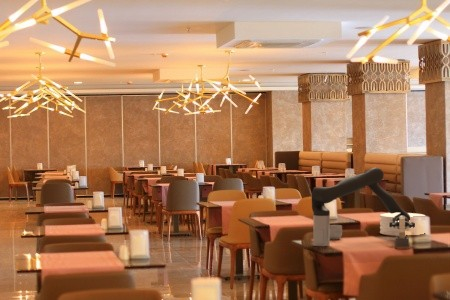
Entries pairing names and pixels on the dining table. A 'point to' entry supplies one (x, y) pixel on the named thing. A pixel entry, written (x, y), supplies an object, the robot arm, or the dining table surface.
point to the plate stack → (388, 217)
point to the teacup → (335, 231)
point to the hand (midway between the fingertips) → (402, 226)
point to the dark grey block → (402, 243)
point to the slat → (401, 227)
